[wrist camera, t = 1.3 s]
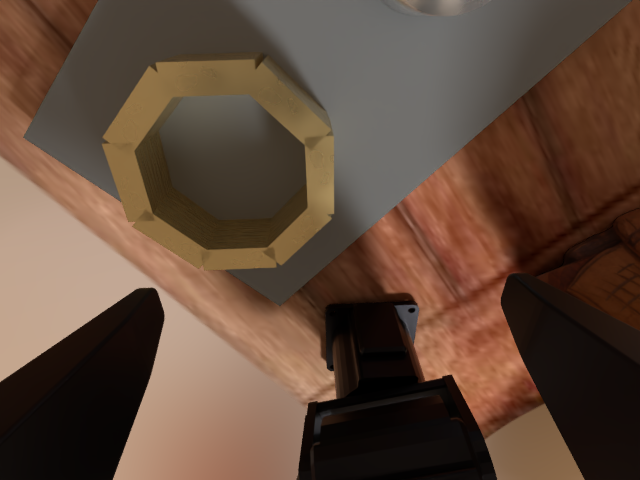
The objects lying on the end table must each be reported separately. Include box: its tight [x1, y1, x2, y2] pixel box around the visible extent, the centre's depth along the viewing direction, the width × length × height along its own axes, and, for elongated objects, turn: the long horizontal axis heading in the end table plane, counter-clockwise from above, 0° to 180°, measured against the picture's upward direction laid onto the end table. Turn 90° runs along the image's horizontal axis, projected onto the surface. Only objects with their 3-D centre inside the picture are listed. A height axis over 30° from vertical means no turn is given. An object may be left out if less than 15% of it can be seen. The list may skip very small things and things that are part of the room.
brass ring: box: [102, 52, 334, 270], centre depth 17 cm, size 9×9×3 cm
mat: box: [23, 0, 632, 306], centre depth 17 cm, size 24×16×2 cm, turn 136°
